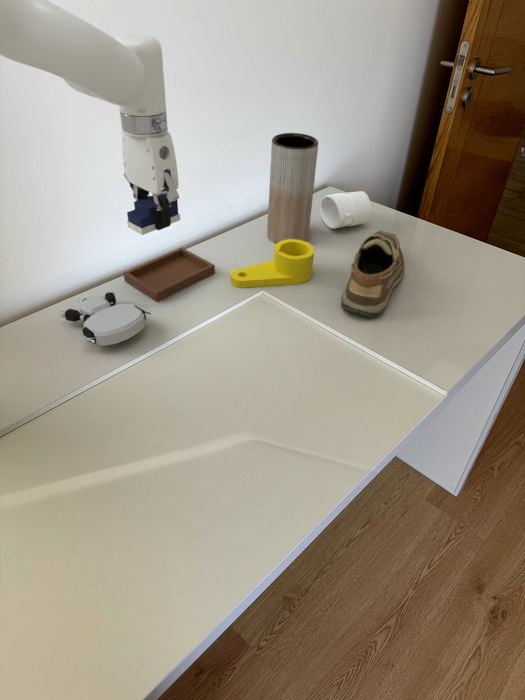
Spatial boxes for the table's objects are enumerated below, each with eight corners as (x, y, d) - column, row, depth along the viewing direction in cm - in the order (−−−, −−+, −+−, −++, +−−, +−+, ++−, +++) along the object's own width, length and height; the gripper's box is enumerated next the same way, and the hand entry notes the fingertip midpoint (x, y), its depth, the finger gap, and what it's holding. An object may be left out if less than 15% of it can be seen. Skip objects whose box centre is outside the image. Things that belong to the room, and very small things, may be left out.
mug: (369, 230, 131) (375, 199, 126) (337, 236, 128) (341, 205, 123) (345, 210, 140) (349, 181, 135) (314, 215, 137) (317, 185, 132)
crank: (302, 261, 118) (304, 237, 115) (317, 280, 112) (320, 255, 109) (225, 273, 113) (225, 248, 109) (237, 293, 107) (237, 268, 103)
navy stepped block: (165, 212, 103) (163, 191, 100) (180, 220, 101) (179, 198, 98) (127, 227, 98) (124, 204, 95) (142, 235, 96) (139, 212, 93)
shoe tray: (157, 302, 104) (156, 293, 103) (124, 281, 109) (123, 272, 108) (214, 273, 113) (214, 265, 112) (182, 255, 118) (181, 247, 117)
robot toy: (58, 326, 98) (99, 361, 89) (51, 306, 95) (94, 340, 87) (115, 302, 105) (159, 332, 96) (111, 282, 102) (156, 311, 93)
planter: (272, 248, 123) (278, 149, 108) (262, 228, 130) (266, 133, 115) (313, 244, 125) (324, 147, 110) (301, 225, 132) (310, 131, 117)
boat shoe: (407, 257, 122) (417, 214, 115) (392, 327, 100) (403, 280, 94) (360, 248, 124) (367, 206, 117) (336, 316, 103) (343, 269, 96)
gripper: (195, 129, 86) (199, 232, 97) (131, 106, 94) (142, 203, 106) (158, 139, 81) (167, 245, 93) (95, 114, 90) (111, 214, 101)
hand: (154, 222), depth 99 cm, fingers closed on navy stepped block, 4 cm apart
